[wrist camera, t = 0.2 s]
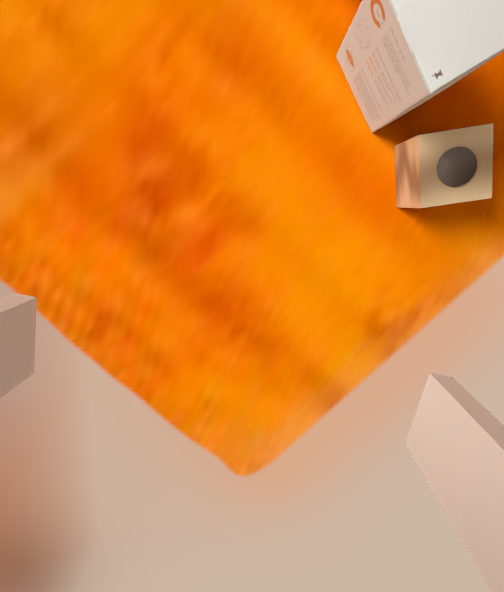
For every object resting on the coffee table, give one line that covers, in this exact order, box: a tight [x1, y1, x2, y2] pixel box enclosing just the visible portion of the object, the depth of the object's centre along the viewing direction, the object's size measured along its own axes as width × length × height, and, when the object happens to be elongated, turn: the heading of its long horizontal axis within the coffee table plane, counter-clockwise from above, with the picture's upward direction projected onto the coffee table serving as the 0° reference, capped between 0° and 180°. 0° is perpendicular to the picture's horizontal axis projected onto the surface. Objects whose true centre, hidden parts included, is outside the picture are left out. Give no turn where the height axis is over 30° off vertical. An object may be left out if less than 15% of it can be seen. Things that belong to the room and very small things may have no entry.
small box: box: [336, 0, 504, 133], centre depth 28 cm, size 8×6×13 cm
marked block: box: [394, 123, 494, 208], centre depth 33 cm, size 6×6×6 cm
